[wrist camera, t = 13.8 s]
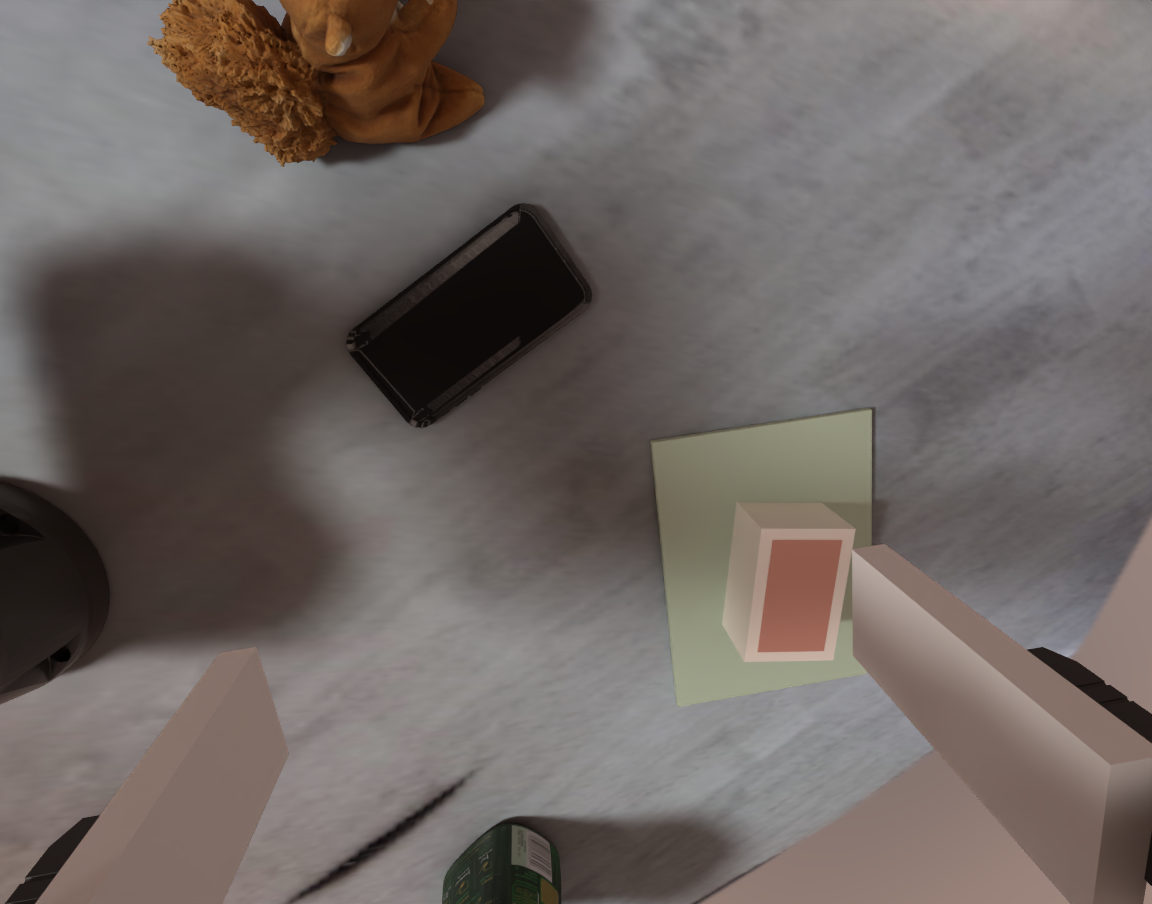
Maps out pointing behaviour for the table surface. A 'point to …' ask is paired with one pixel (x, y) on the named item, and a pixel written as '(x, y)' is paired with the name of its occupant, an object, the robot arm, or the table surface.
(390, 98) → the stuffed squirrel
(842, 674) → the mat
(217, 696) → the robot arm
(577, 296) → the phone
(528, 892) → the coffee jar
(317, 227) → the table surface
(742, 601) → the card box
